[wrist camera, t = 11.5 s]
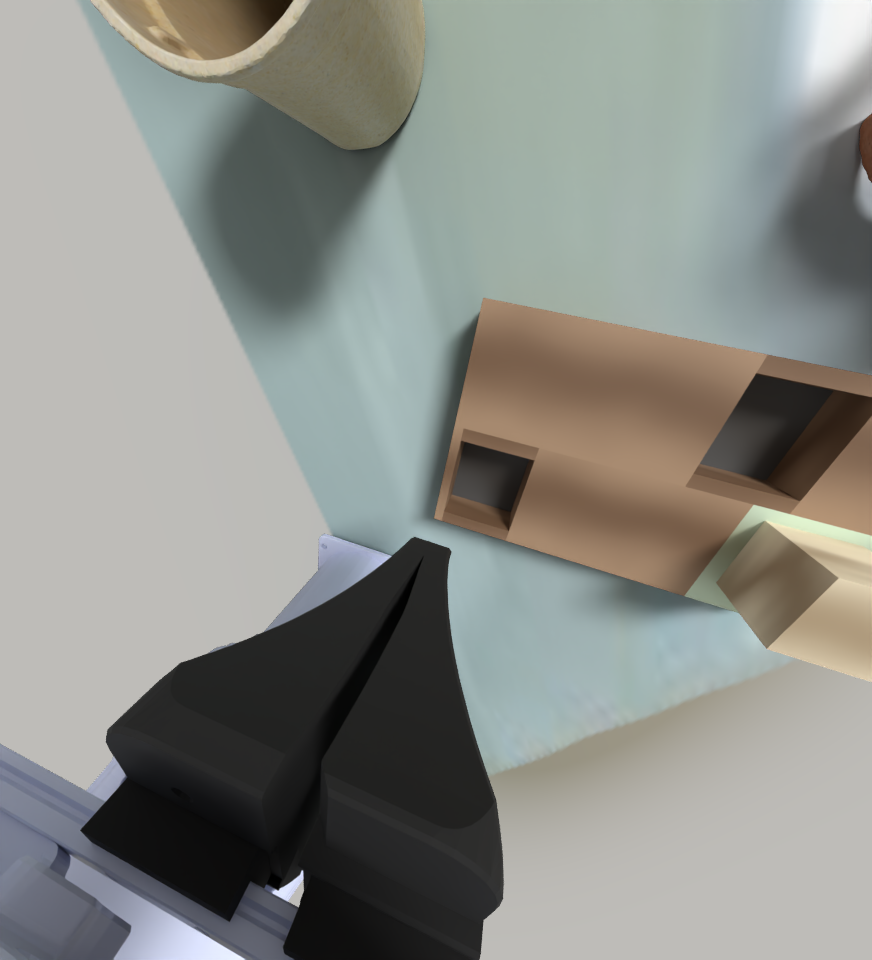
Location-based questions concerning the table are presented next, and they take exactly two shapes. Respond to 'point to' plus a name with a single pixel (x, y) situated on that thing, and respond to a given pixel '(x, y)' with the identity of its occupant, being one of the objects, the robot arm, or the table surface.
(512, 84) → the table surface
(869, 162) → the pottery mug
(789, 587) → the birch block
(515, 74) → the table surface
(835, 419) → the board
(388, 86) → the flower pot
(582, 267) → the table surface
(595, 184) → the table surface
